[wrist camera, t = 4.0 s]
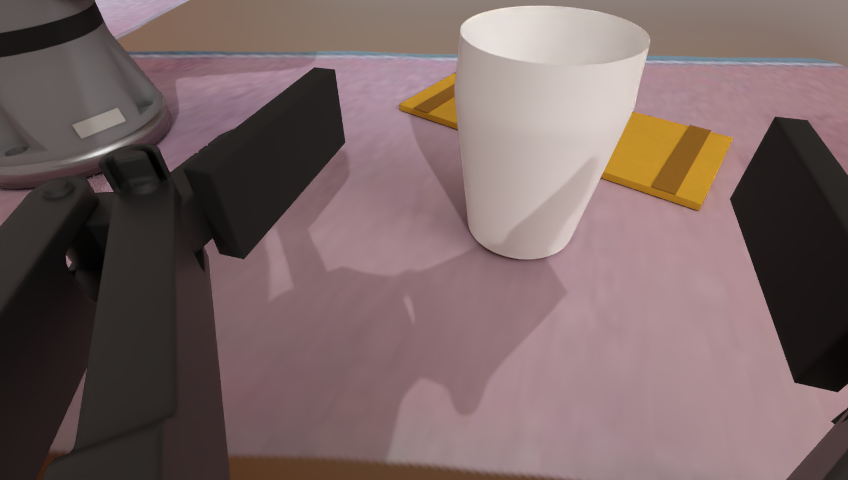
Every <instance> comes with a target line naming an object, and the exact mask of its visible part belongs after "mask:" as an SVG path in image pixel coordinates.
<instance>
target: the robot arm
mask: <svg viewBox="0 0 848 480" xmlns="http://www.w3.org/2000/svg"><path fill="white" fill-rule="evenodd" d="M171 122H172V118H171V114H170V112H169V109H168V107H167V105H166V102H165V100H164V97H163V95H162V93H161V92H160V91H159V90H158V89H157V88H156V87H155V86H154V84H153V83H152V82H151V81H150V80H149V78H148V77H147V76H146V75H145V74H144V72H143V71H142V70H141V69H140V68H139V66H138V65H137V64H136V63H135V62H134V60H133V59H132V58H131V57H130V56H129V55H128V53H127V52H126V51H125V50H124V49H123V47H122V46H121V45H120V44H119V43H118V41H117V40H116V39H115V38H114V37H113V35H112V34H111V33H110V31H109V30H108V28H107V26H106V24H105V22H104V20H103V18H102V15H101V13H100V11H99V9H98V7H97V5H96V3H95V0H0V188H10V189H13V188H34V187H36V188H35V189H33V190H32V191H31V192H30V193H29V194H28V195H27V196H26V197H25V198H24V200H23V201H22V202H21V203H20V204H19V206H18V207H17V208H16V209H15V210H14V211H13V213H12V214H11V215H10V216H9V217H8V218H7V220H6V221H5V222H4V223H3V224H2V225H1V227H0V480H36V478H37V476H38V473H39V471H40V469H41V467H42V465H43V462H44V460H45V458H46V456H47V454H48V451H49V449H50V447H51V445H52V443H53V441H54V438H55V436H56V434H57V432H58V430H59V427H60V425H61V423H62V421H63V419H64V416H65V414H66V412H67V410H68V408H69V405H70V403H71V401H72V399H73V397H74V394H75V392H76V390H77V388H78V386H79V383H80V381H81V379H82V377H83V375H84V372H85V370H86V368H87V372H86V378H85V385H84V391H83V397H82V404H81V410H80V416H79V423H78V429H77V435H76V441H75V445H74V448H73V450H72V451H71V452H70V453H69V454H66V455H63V456H61V457H58V458H55V459H54V460H53V461H52V462H51V464H50V465H49V466H48V467H47V469H46V472H45V475H44V477H43V480H230V473H229V463H228V453H227V443H226V432H225V422H224V412H223V402H222V392H221V381H220V371H219V361H218V351H217V341H216V330H215V320H214V310H213V300H212V290H211V279H210V269H209V259H208V255H207V253H206V250H205V248H204V246H205V245H206V244H207V243H208V242H209V241H210V240H211V239H212V238H213V239H214V242H215V244H216V246H217V248H218V251H219V253H220V254H223V255H227V256H231V257H236V258H240V259H244V258H245V257H246V256H247V255H248V254H249V253H250V252H251V250H252V249H253V248H254V247H255V246H256V245H257V244H258V242H259V241H260V240H261V239H262V238H263V237H264V235H265V234H266V233H267V232H268V231H269V230H270V229H271V227H272V226H273V225H274V224H275V223H276V222H277V221H278V219H279V218H280V217H281V216H282V215H283V214H284V212H285V211H286V210H287V209H288V208H289V207H290V206H291V204H292V203H293V202H294V201H295V200H296V199H297V198H298V196H299V195H300V194H301V193H302V192H303V191H304V189H305V188H306V187H307V186H308V185H309V184H310V183H311V181H312V180H313V179H314V178H315V177H316V176H317V174H318V173H319V172H320V171H321V170H322V169H323V168H324V166H325V165H326V164H327V163H328V162H329V161H330V160H331V158H332V157H333V156H334V155H335V154H336V153H337V151H338V150H339V149H340V148H341V147H342V146H343V145H344V143H345V137H344V130H343V123H342V116H341V109H340V102H339V95H338V88H337V81H336V74H335V70H334V69H324V68H315V67H314V68H313V69H312V70H310V71H309V72H308V73H306V74H305V75H304V76H303V77H301V78H300V79H299V80H297V81H296V82H295V83H294V84H292V85H291V86H290V87H288V88H287V89H286V90H284V91H283V92H282V93H281V94H279V95H278V96H277V97H275V98H274V99H273V100H271V101H270V102H269V103H268V104H266V105H265V106H264V107H262V108H261V109H260V110H258V111H257V112H256V113H255V114H253V115H252V116H251V117H249V118H248V119H247V120H245V121H244V122H243V123H242V124H240V125H239V126H238V127H236V128H235V129H233V130H230V131H228V132H226V133H223V134H221V135H219V136H218V137H217V138H215V139H214V140H213V141H211V142H210V143H209V144H208V146H205V147H203V148H202V149H201V150H199V153H195V154H194V155H193V156H191V157H190V158H189V159H187V160H186V161H185V162H183V163H182V164H181V165H180V166H178V167H177V168H176V169H174V170H173V171H172V172H169V170H168V168H167V165H166V163H165V161H164V159H163V157H162V155H161V152H160V150H159V148H158V147H157V146H154V145H155V144H156V143H157V142H158V141H159V140H160V139H162V138H163V136H164V135H165V134H166V133H167V131H168V130H169V128H170V126H171ZM100 172H103V174H104V175H105V177H106V179H107V181H108V182H109V184H110V186H111V187H112V189H113V191H114V192H101V193H95V192H94V190H93V189H92V187H91V185H90V184H89V182H88V181H87V179H86V178H85V177H88V176H91V175H95V174H97V173H100ZM730 200H731V203H732V206H733V209H734V212H735V215H736V217H737V220H738V223H739V226H740V229H741V232H742V235H743V237H744V240H745V243H746V246H747V249H748V252H749V254H750V257H751V260H752V263H753V266H754V269H755V271H756V274H757V277H758V280H759V283H760V286H761V289H762V291H763V294H764V297H765V300H766V303H767V306H768V308H769V311H770V314H771V317H772V320H773V323H774V325H775V328H776V331H777V334H778V337H779V340H780V343H781V345H782V348H783V351H784V354H785V357H786V360H787V362H788V365H789V368H790V371H791V374H792V377H793V379H794V382H795V383H799V384H803V385H808V386H812V387H817V388H821V389H826V390H830V391H835V392H839V391H840V390H841V389H842V388H843V387H845V386H846V385H847V384H848V175H847V174H846V172H845V171H844V170H843V168H842V167H841V165H840V164H839V163H838V161H837V160H836V159H835V157H834V156H833V155H832V153H831V152H830V150H829V149H828V148H827V146H826V145H825V144H824V142H823V141H822V140H821V138H820V137H819V135H818V134H817V133H816V131H815V130H814V129H813V127H812V126H811V124H810V123H809V122H808V120H800V119H791V118H782V117H775V118H774V120H773V121H772V123H771V125H770V127H769V129H768V130H767V132H766V134H765V136H764V138H763V140H762V141H761V143H760V145H759V147H758V149H757V151H756V152H755V154H754V156H753V158H752V160H751V162H750V163H749V165H748V167H747V169H746V171H745V172H744V174H743V176H742V178H741V180H740V182H739V183H738V185H737V187H736V189H735V191H734V193H733V194H732V196H731V198H730ZM66 255H67V257H68V258H69V259H70V261H71V262H72V263H71V265H70V267H69V268H68V266H67V264H66ZM831 422H833V423H834V424H835V425H834V426H833V427H832V429H831V430H830V431H829V432H828V433H827V434H826V435H825V436H824V438H823V439H822V440H821V441H820V442H819V443H818V444H817V445H816V447H815V448H814V449H813V450H812V451H811V452H810V453H809V455H808V456H807V457H806V458H805V459H804V460H803V461H802V462H801V464H800V465H799V466H798V467H797V468H796V469H795V470H794V471H793V473H792V474H791V475H790V476H789V477H788V478H787V479H786V480H848V408H847V409H846V410H845V411H843V412H842V413H841V414H840V415H838V416H837V417H836V418H835V419H833V420H832V421H831Z"/></svg>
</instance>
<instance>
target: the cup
mask: <svg viewBox="0 0 848 480" xmlns="http://www.w3.org/2000/svg"><path fill="white" fill-rule="evenodd" d="M649 45H650V37H649V35H648V33H647V32H646V31H645V30H644V29H642V28H641V27H640V26H638V25H636V24H634V23H632V22H630V21H628V20H625V19H623V18H619V17H617V16H613V15H610V14H606V13H601V12H597V11H592V10H586V9H578V8H571V7H558V6H520V7H509V8H502V9H496V10H491V11H487V12H484V13H480V14H478V15H475V16H473V17H471V18H469V19H468V20H466V21H465V22H464V23H463V24H462V26H461V29H460V41H459V51H458V61H457V71H456V78H455V86H454V89H455V105H456V115H457V125H458V134H459V143H460V153H461V162H462V171H463V180H464V190H465V199H466V208H467V217H468V226H469V229H470V232H471V234H472V235H473V237H474V238H475V239H476V240H477V241H478V242H479V243H480V244H481V245H482V246H484V247H485V248H487V249H489V250H490V251H492V252H495V253H497V254H500V255H503V256H506V257H510V258H516V259H539V258H544V257H548V256H551V255H553V254H556V253H557V252H559V251H561V250H562V249H563V248H564V247H565V246H566V245H567V244H568V243H569V241H570V239H571V237H572V235H573V233H574V231H575V229H576V227H577V225H578V223H579V221H580V219H581V217H582V215H583V213H584V210H585V208H586V206H587V204H588V202H589V200H590V198H591V196H592V194H593V192H594V190H595V188H596V186H597V184H598V182H599V180H600V178H601V176H602V174H603V172H604V170H605V168H606V166H607V164H608V162H609V159H610V157H611V155H612V153H613V151H614V149H615V147H616V145H617V143H618V141H619V139H620V137H621V135H622V133H623V131H624V129H625V127H626V125H627V123H628V120H629V118H630V116H631V114H632V112H633V109H634V107H635V103H636V98H637V93H638V89H639V84H640V80H641V76H642V72H643V68H644V64H645V61H646V57H647V53H648V49H649Z"/></svg>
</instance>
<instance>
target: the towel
mask: <svg viewBox="0 0 848 480" xmlns="http://www.w3.org/2000/svg"><path fill="white" fill-rule="evenodd" d="M455 78H456V72H455V73H454V74H452V75H450V76H448V77H447V78H445V79H443V80H441V81H439V82H438V83H436V84H434V85H432V86H431V87H429V88H427V89H425V90H424V91H422V92H420V93H418V94H416V95H415V96H413V97H411V98H409V99H408V100H406V101H404V102H402V103H401V104H399V106H400V110H402V111H405V112H408V113H411V114H414V115H416V116H419V117H422V118H425V119H428V120H431V121H434V122H437V123H440V124H443V125H446V126H449V127H452V128H455V129H458V125H457V115H456V105H455V89H454V86H455ZM732 140H733V138H732V137H728V136H724V135H721V134H717V133H713V132H711V130H707V129H703V128H699V127H696V126H692V125H690V126H686V125H682V124H678V123H674V122H671V121H667V120H663V119H659V118H655V117H651V116H648V115H644V114H640V113H636V112H632V114H631V116H630V118H629V120H628V123H627V125H626V127H625V129H624V131H623V133H622V135H621V137H620V139H619V141H618V143H617V145H616V147H615V149H614V151H613V153H612V155H611V157H610V159H609V162H608V164H607V166H606V168H605V170H604V172H603V174H602V176H601V178H603V179H606V180H609V181H612V182H615V183H618V184H621V185H624V186H627V187H630V188H633V189H635V190H638V191H641V192H644V193H647V194H650V195H653V196H656V197H659V198H662V199H665V200H668V201H671V202H674V203H677V204H680V205H683V206H686V207H689V208H692V209H695V210H698V211H699V209H700V207H701V206H702V203H703V201H704V199H705V197H706V195H707V193H708V191H709V189H710V186H711V184H712V182H713V180H714V178H715V176H716V174H717V172H718V169H719V167H720V165H721V163H722V161H723V159H724V157H725V155H726V152H727V150H728V148H729V146H730V144H731V142H732Z"/></svg>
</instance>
